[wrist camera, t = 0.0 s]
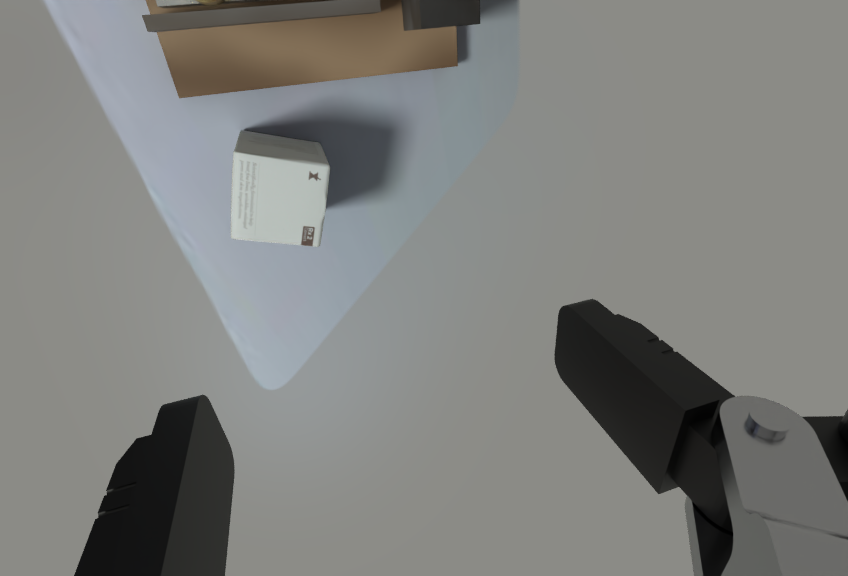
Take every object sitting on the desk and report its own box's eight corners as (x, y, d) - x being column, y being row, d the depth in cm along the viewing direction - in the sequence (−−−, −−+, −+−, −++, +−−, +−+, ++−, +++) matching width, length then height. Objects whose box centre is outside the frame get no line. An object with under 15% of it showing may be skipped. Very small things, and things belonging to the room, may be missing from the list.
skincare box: (239, 128, 33) (231, 148, 26) (322, 142, 35) (332, 163, 29) (237, 206, 35) (229, 240, 29) (314, 214, 37) (321, 248, 31)
